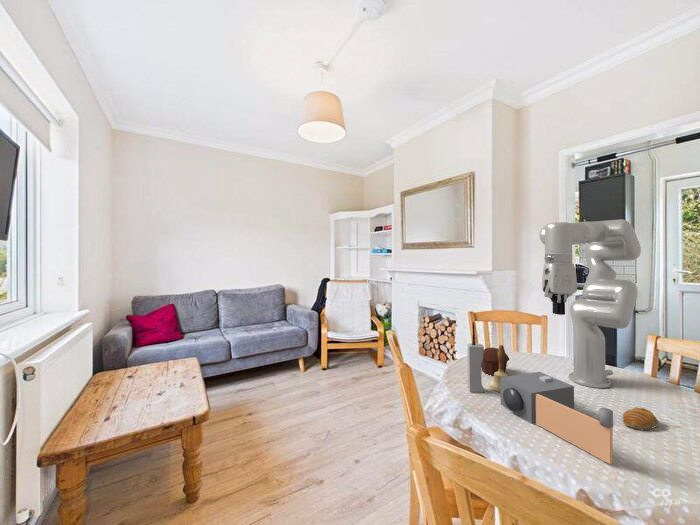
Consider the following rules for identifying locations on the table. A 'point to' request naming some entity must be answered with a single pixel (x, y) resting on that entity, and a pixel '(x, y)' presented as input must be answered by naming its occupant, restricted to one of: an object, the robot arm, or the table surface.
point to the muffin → (492, 361)
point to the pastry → (639, 418)
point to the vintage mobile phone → (474, 365)
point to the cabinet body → (533, 393)
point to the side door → (578, 427)
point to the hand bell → (499, 371)
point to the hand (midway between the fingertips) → (558, 313)
